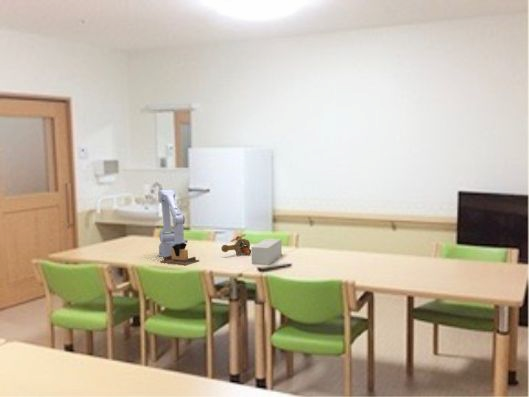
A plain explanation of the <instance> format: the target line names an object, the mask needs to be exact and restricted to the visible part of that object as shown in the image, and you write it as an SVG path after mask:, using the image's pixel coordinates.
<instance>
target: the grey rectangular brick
mask: <svg viewBox="0 0 529 397" xmlns="http://www.w3.org/2000/svg"><path fill="white" fill-rule="evenodd" d="M250 247H251V248H250V249H251V265H264V266H269V265H270V264H272V263H273V262H274V261H275V260H277V259H278V258H280V257H281V256H282V255H283V254H282V248H283V246H282V239H281V238H264V239H263V240H261V241H259V242H258V243H255V244H254V245H253V246H250Z"/></svg>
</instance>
